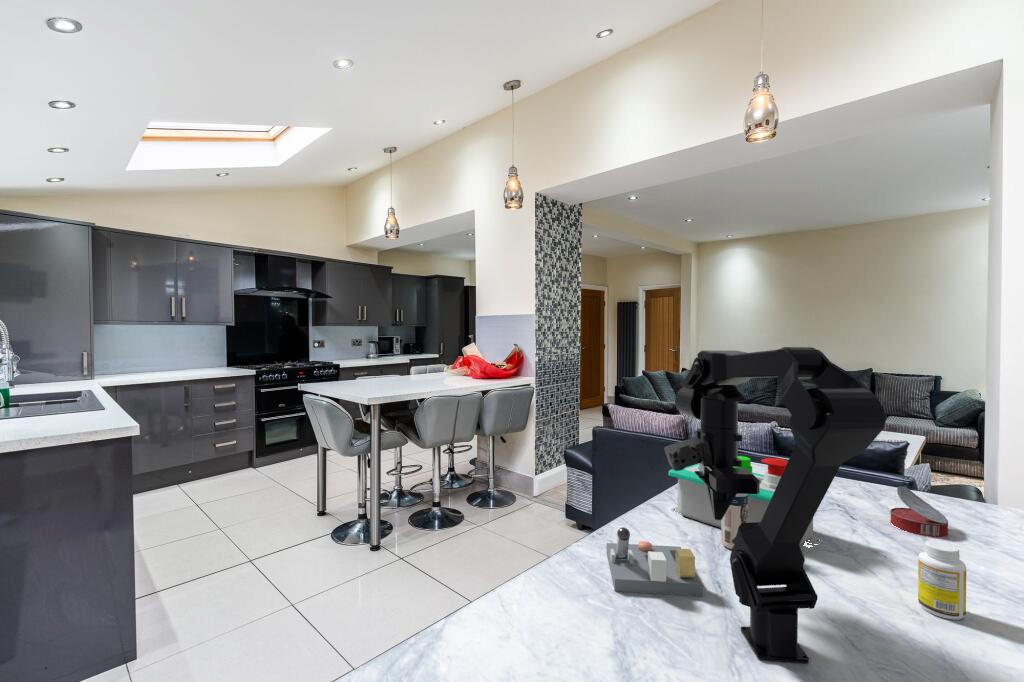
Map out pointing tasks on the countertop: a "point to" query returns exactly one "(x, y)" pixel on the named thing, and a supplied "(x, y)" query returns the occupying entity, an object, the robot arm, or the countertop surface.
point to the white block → (657, 566)
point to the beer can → (734, 519)
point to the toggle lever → (622, 543)
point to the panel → (635, 571)
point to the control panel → (698, 505)
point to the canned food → (918, 516)
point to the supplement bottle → (942, 581)
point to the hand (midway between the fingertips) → (717, 519)
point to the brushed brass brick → (685, 563)
